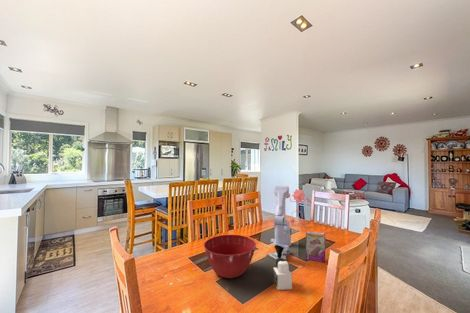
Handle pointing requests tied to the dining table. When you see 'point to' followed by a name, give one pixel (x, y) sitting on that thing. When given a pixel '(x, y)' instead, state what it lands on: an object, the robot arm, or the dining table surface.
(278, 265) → the medicine bottle
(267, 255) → the plate
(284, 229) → the robot arm
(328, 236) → the dining table surface
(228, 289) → the dining table surface
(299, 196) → the figurine
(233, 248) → the mixing bowl
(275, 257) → the label
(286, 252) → the door handle
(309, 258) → the candy bar box
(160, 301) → the dining table surface
